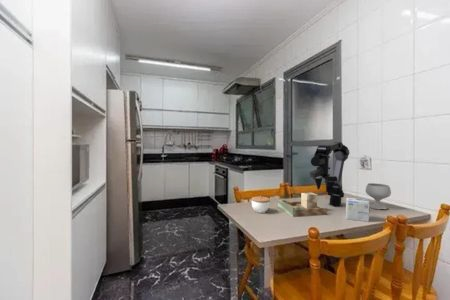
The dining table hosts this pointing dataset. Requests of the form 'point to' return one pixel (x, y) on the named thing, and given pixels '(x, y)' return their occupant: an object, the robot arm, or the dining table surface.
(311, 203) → the oak block
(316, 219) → the dining table surface
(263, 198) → the lidded jar
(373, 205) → the chalice
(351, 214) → the light bulb box
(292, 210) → the trap board
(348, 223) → the dining table surface
